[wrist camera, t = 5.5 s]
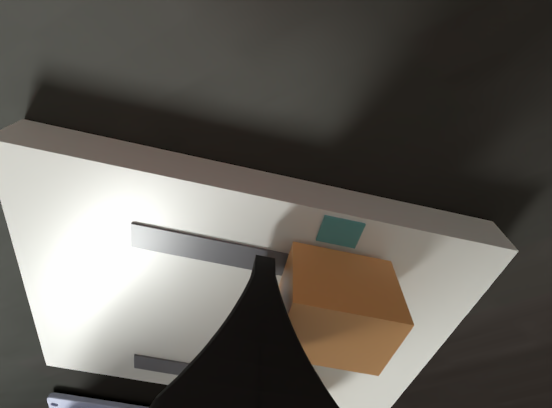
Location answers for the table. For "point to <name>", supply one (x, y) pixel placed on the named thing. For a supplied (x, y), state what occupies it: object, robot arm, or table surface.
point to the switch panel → (210, 253)
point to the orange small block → (344, 308)
